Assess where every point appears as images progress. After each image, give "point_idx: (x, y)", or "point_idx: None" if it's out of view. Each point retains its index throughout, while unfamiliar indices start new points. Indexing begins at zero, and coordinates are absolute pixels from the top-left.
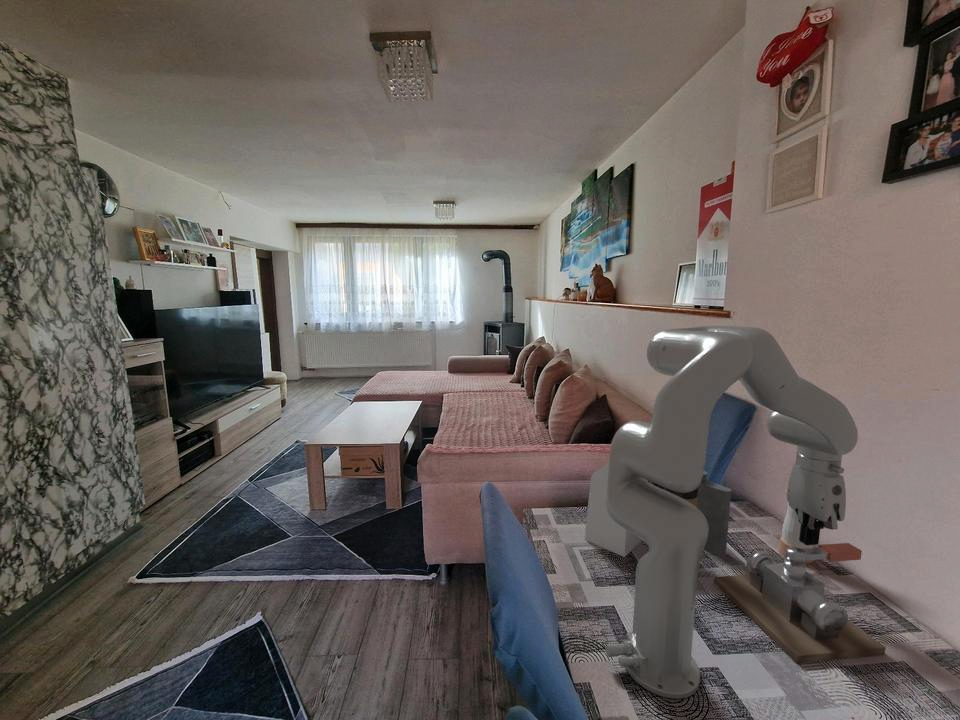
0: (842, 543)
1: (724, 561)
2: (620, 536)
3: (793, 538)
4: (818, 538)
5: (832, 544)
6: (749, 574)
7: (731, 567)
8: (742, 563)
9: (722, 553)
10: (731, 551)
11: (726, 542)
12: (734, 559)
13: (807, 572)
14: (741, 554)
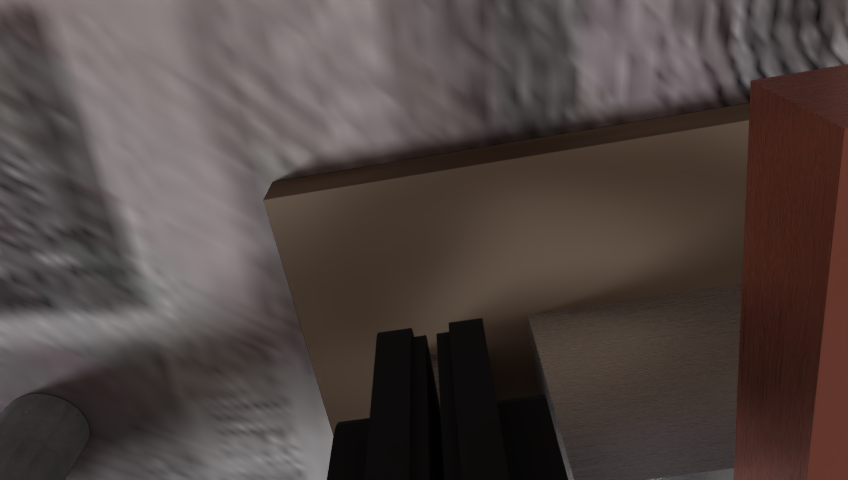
0: (839, 259)
1: (154, 437)
2: None
3: None
4: (556, 438)
5: (828, 438)
6: (334, 429)
7: (214, 428)
8: (149, 351)
9: (80, 436)
10: (6, 349)
11: (24, 472)
12: (112, 375)
13: (714, 470)
14: (27, 305)
